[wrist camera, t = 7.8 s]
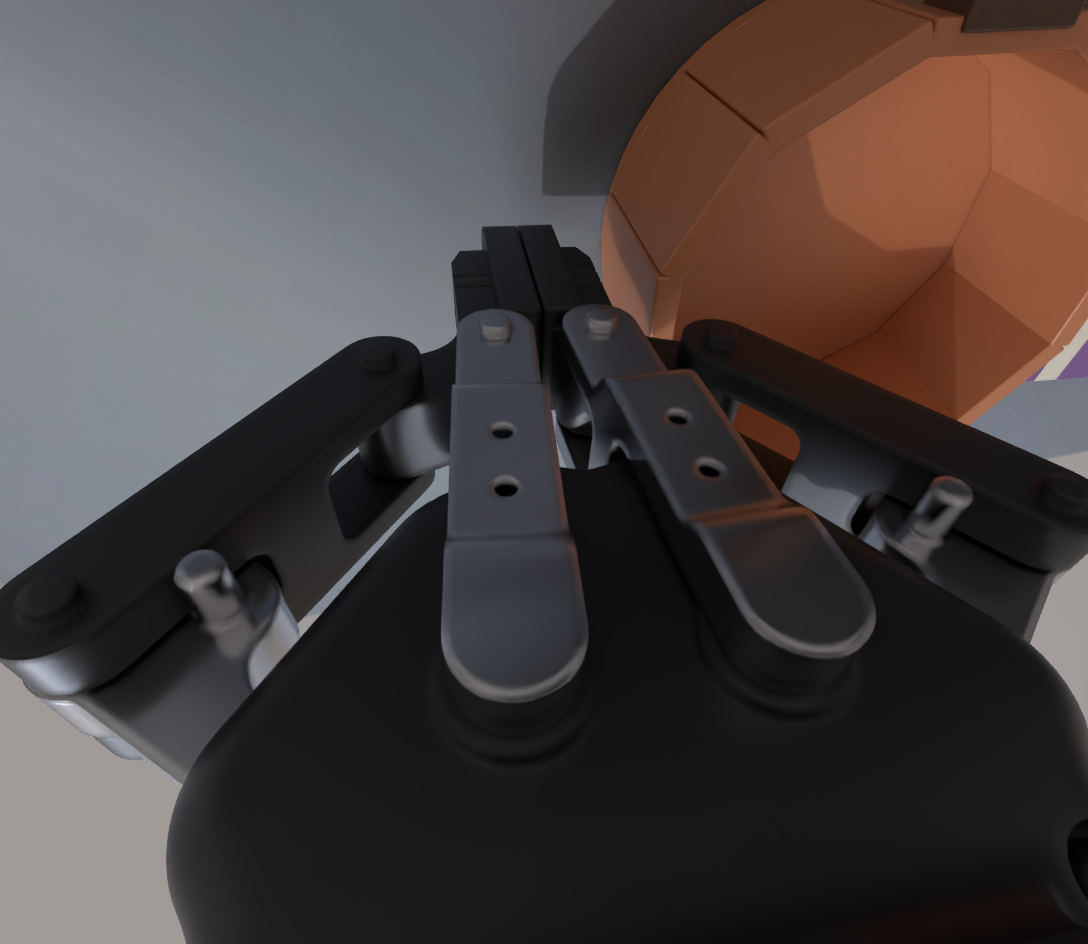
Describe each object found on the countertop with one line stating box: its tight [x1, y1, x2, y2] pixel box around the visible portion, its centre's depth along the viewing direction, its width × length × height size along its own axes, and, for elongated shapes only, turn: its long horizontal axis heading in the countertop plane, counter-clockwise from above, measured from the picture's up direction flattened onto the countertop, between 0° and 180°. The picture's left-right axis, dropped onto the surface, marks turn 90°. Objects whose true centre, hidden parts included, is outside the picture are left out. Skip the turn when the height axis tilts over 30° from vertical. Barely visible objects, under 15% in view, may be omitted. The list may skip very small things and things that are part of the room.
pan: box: [601, 0, 1088, 461], centre depth 11 cm, size 17×10×5 cm, turn 1°
